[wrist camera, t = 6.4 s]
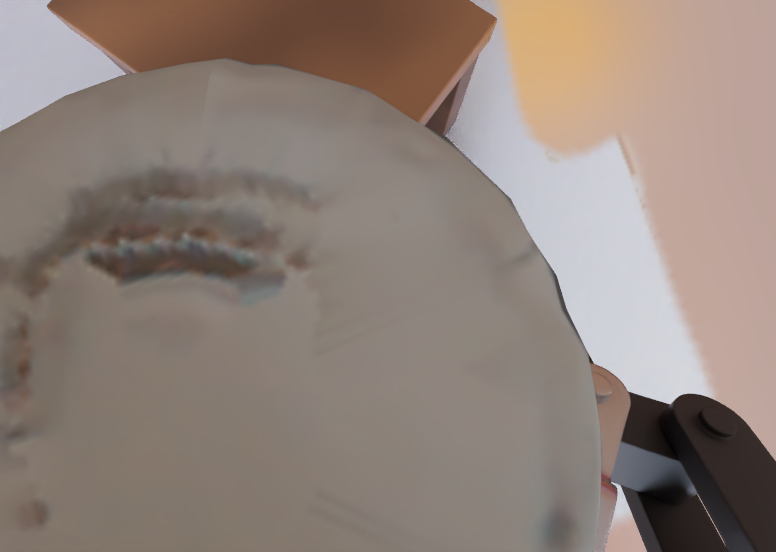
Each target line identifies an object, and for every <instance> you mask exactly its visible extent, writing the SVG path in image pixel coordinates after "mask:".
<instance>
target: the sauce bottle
mask: <svg viewBox="0 0 776 552" xmlns="http://www.w3.org/2000/svg"><path fill="white" fill-rule="evenodd" d="M601 468H602V444H601V433H600V423H599V415H598V408H597V400H596V392H595V387H594V382H593V377H592V372H591V367H590V362H589V356H588V352H587V350H586V348H585V346H584V344H583V342H582V340H581V338H580V336H579V334H578V332H577V330H576V328H575V326H574V324H573V322H572V320H571V318H570V315H569V313H568V311H567V309H566V306H565V302H564V299H563V296H562V292H561V289H560V286H559V282H558V279H557V276H556V274H555V273H554V271H553V270H552V268H551V267H550V265H549V264H548V262H547V261H546V259H545V258H544V256H543V255H542V253H541V252H540V250H539V249H538V247H537V245H536V244H535V242H534V241H533V239H532V238H531V236H530V234H529V233H528V231H527V229H526V228H525V226H524V224H523V222H522V220H521V218H520V216H519V214H518V212H517V210H516V208H515V206H514V204H513V203H512V201H511V199H510V198H509V197H508V196H507V195H506V194H505V193H504V192H503V191H502V190H501V189H500V188H499V187H498V186H497V185H496V184H494V183H493V182H492V181H491V180H490V179H489V178H488V177H487V176H486V175H485V174H484V173H483V172H482V171H481V170H480V169H479V168H478V167H477V166H475V165H474V164H473V163H472V162H471V161H470V160H469V159H468V158H467V157H466V156H465V155H464V154H463V153H462V152H461V151H460V150H459V149H458V148H457V147H456V146H455V145H454V144H453V143H452V142H451V141H450V140H449V139H448V138H447V137H445V136H444V135H442V134H440V133H438V132H436V131H434V130H432V129H430V128H428V127H426V126H424V125H422V124H420V123H418V122H416V121H415V120H413V119H412V118H410V117H409V116H407V115H406V114H404V113H402V112H401V111H399V110H398V109H396V108H395V107H393V106H392V105H390V104H389V103H387V102H385V101H384V100H382V99H381V98H379V97H378V96H376V95H375V94H373V93H372V92H370V91H368V90H366V89H363V88H359V87H355V86H352V85H348V84H345V83H341V82H337V81H334V80H330V79H327V78H323V77H320V76H316V75H313V74H310V73H306V72H303V71H300V70H297V69H293V68H290V67H287V66H283V65H280V64H259V65H256V64H251V63H246V62H242V61H237V60H233V59H228V58H223V59H216V60H208V61H201V62H193V63H186V64H181V65H176V66H171V67H165V68H160V69H155V70H150V71H145V72H139V73H134V74H128V75H123V76H120V77H117V78H114V79H111V80H108V81H106V82H103V83H100V84H97V85H94V86H92V87H89V88H86V89H83V90H80V91H78V92H75V93H72V94H69V95H66V96H64V97H63V98H61V99H59V100H57V101H55V102H54V103H52V104H50V105H48V106H47V107H45V108H43V109H41V110H39V111H38V112H36V113H34V114H32V115H31V116H29V117H27V118H25V119H23V120H22V121H20V122H18V123H16V124H14V125H12V126H11V127H9V128H7V129H5V130H3V131H1V132H0V552H591V551H592V549H593V546H594V541H595V535H596V529H597V524H598V518H599V513H600V497H601Z"/></svg>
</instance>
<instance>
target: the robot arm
mask: <svg viewBox="0 0 776 552" xmlns="http://www.w3.org/2000/svg"><path fill="white" fill-rule="evenodd" d="M588 356H589V354H588ZM589 362H590V367H591V372H592V377H593V382H594V387H595V392H596V400H597V408H598V415H599V423H600V433H601V444H602V468H601V497H600V513H599V518H598V524H597V529H596V535H595V541H594V546H593V549H592V551H591V552H604V551H605V547H606V543H607V539H608V535H609V531H610V527H611V522H612V518H613V514H614V510H615V506H616V501H617V488H616V486H615V485H613V484H612V483H611V482H614V483H617V484H619V485H621V487H622V490H623V492H624V495H625V497H626V500H627V502H628V505H629V507H630V510H631V512H632V515H633V517H634V520H635V522H636V525H637V527H638V530H639V532H640V535H641V537H642V540H643V542H644V545H645V547H646V550H647V552H776V461H775V460H774V459H773V457H772V456H771V455H770V453H769V452H768V451H767V449H766V448H765V447H764V445H763V444H762V443H761V441H760V440H759V439H758V438H757V436H756V435H755V434H754V432H753V431H752V430H751V428H750V427H749V426H748V425H747V423H746V422H745V421H744V420H743V419H742V418H741V417H740V416H738V415H737V414H736V413H735V412H734V411H732V410H731V409H729V408H728V407H726V406H725V405H723V404H721V403H720V402H718V401H715V400H713V399H711V398H708V397H706V396H702V395H697V394H683V395H681V396H679V397H678V398H676V399H675V400H674V401H673V402H672V404H671V405H670V404H666V403H663V402H660V401H656V400H653V399H650V398H646V397H643V396H640V395H637V394H634V393H631V392H628V391H627V389H626V387H625V386H624V384H623V383H622V382H621V381H620V380H619V379H618V378H617V377H616V376H615V375H614V374H612V373H611V372H609V371H608V370H606V369H604V368H603V367H600V366H598V365H595V364H594V363H593V361H592V359H591V358H590V356H589ZM697 494H698V495H699V497H700V499H701V500H702V502H703V504H704V506H705V508H706V509H707V511H708V513H709V515H710V517H711V518H712V520H713V522H714V524H715V526H716V528H717V529H718V531H719V533H720V535H721V537H722V539H723V541H724V543H725V545H726V546H725V545H724V543H723V541H722V539H721V537H720V536H719V534H718V532H717V530H716V528H715V526H714V524H713V523H712V521H711V519H710V517H709V516H708V514H707V512H706V510H705V508H704V506H703V504H702V503H701V501H700V499H699V497H698V495H697Z"/></svg>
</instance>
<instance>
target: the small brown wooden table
mask: <svg viewBox="0 0 776 552" xmlns="http://www.w3.org/2000/svg"><path fill="white" fill-rule="evenodd" d="M47 7H48V9H49V10H50V11H51V12H52V13H54V14H55V15H56V16H57V17H58V18H59V19H60V20H61V21H62V22H64V23H65V24H66V25H67V26H68V27H69V28H70V29H72V30H73V31H74V32H76V33H77V34H79V35H80V36H81V37H83V38H84V39H86V40H87V41H88V42H90V43H91V44H93V45H94V46H95V47H97V48H98V49H99V50H101V51H102V52H103V53H104V54H105V55H107V56H108V57H109V58H110V59H111V60H112V61H113V62H114V63H115V64H116V65H117V66H118V67H120V68H121V69H122V70H123V71H124V72H125V73H126V74H127V75H128V74H134V73H139V72H145V71H150V70H155V69H160V68H165V67H171V66H176V65H181V64H186V63H193V62H201V61H208V60H216V59H223V58H228V59H233V60H237V61H242V62H246V63H251V64H256V65H259V64H280V65H283V66H287V67H290V68H293V69H297V70H300V71H303V72H306V73H310V74H313V75H316V76H320V77H323V78H327V79H330V80H334V81H337V82H341V83H345V84H348V85H352V86H355V87H359V88H363V89H366V90H368V91H370V92H372V93H373V94H375V95H376V96H378V97H379V98H381V99H382V100H384V101H385V102H387V103H389V104H390V105H392V106H393V107H395V108H396V109H398V110H399V111H401V112H402V113H404V114H406V115H407V116H409V117H410V118H412V119H413V120H415V121H416V122H418V123H420V124H422V125H424V126H426V127H428V128H430V129H432V130H434V131H436V132H438V133H440V134H442V135H444V136H445V135H446V133H447V132H448V131H449V129H450V128H451V127H452V125H453V124H454V123H455V120H456V117H457V115H458V112H459V109H460V106H461V103H462V101H463V98H464V95H465V92H466V89H467V86H468V84H469V81H470V78H471V75H472V72H473V69H474V67H475V64H476V61H477V58H478V55H479V53H480V52H481V51H482V49H483V48H484V47H485V45H486V44H487V43H488V41H489V40H490V38H491V35H492V32H493V30H494V27H495V24H496V21H497V19H496V18H495V17H494V16H492V15H491V14H489V13H488V12H486V11H485V10H483V9H482V8H480V7H479V6H477V5H475V4H474V3H472V2H471V1H469V0H51V1H50V3H49V4H48V5H47Z"/></svg>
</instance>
